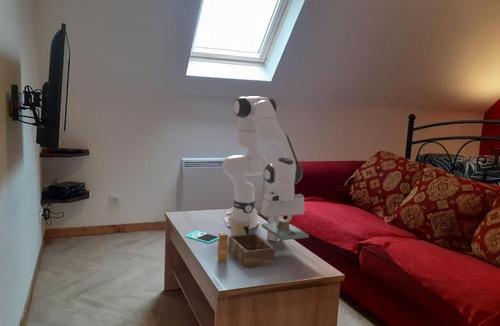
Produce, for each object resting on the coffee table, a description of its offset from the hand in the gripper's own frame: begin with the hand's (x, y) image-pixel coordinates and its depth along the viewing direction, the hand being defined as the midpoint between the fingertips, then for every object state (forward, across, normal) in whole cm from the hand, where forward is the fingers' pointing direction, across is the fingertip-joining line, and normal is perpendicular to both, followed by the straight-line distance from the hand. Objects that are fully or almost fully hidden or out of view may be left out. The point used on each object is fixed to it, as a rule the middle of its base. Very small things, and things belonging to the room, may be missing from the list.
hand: (282, 224), depth 184 cm
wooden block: (+14, +29, +2) cm, 32 cm away
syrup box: (+14, -6, -18) cm, 24 cm away
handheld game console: (+14, +27, -32) cm, 44 cm away
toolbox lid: (+3, 0, +2) cm, 3 cm away
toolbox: (+14, +16, +2) cm, 21 cm away
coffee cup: (+14, +12, -20) cm, 27 cm away
